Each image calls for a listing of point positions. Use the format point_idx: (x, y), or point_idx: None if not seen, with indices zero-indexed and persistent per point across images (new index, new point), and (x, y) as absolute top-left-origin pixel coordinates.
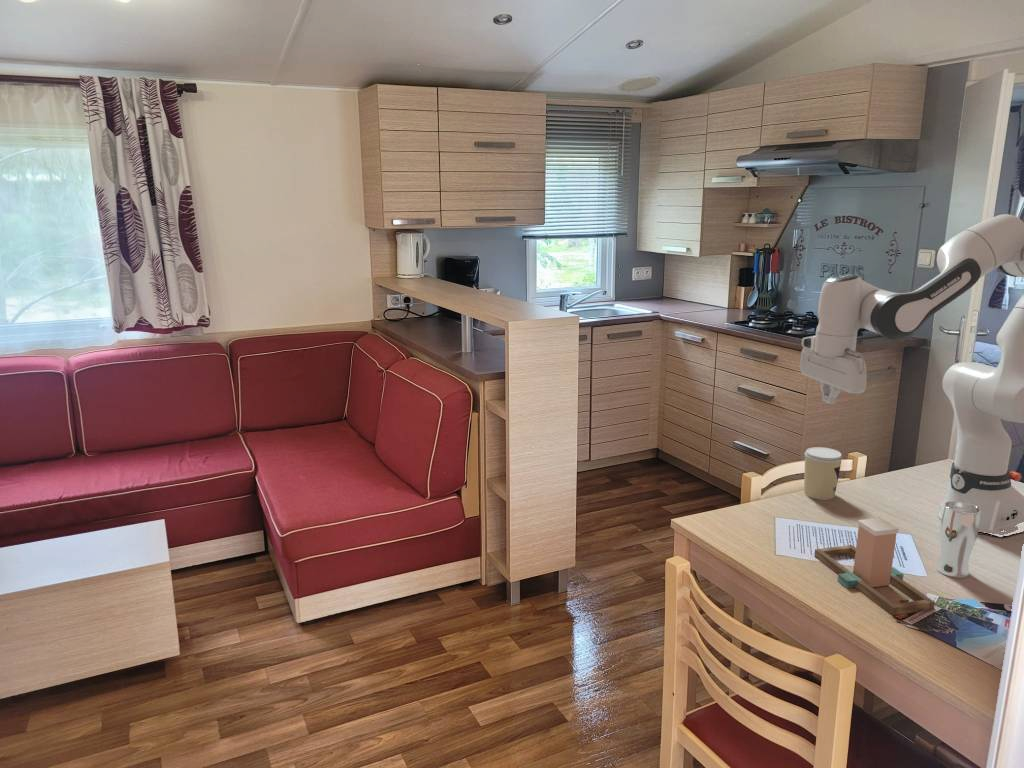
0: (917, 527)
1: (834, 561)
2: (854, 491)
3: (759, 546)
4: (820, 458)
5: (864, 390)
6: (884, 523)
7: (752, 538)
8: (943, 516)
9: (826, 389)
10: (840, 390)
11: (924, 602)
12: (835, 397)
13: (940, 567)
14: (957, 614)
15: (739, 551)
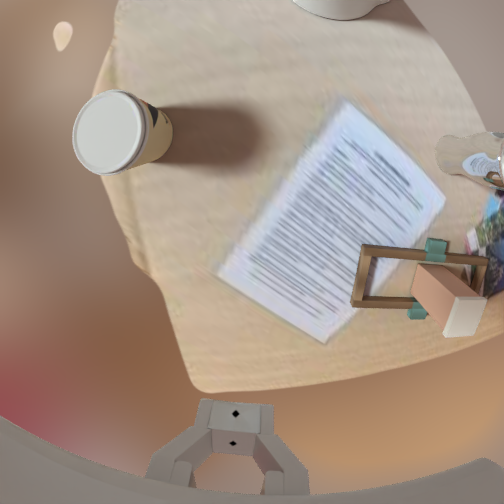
0: (327, 68)
1: (388, 304)
2: (156, 64)
3: (296, 349)
4: (131, 160)
5: (497, 466)
6: (470, 307)
7: (272, 345)
8: (493, 184)
9: (193, 461)
10: (305, 473)
11: (484, 270)
12: (272, 435)
13: (450, 173)
14: (496, 240)
15: (298, 374)
